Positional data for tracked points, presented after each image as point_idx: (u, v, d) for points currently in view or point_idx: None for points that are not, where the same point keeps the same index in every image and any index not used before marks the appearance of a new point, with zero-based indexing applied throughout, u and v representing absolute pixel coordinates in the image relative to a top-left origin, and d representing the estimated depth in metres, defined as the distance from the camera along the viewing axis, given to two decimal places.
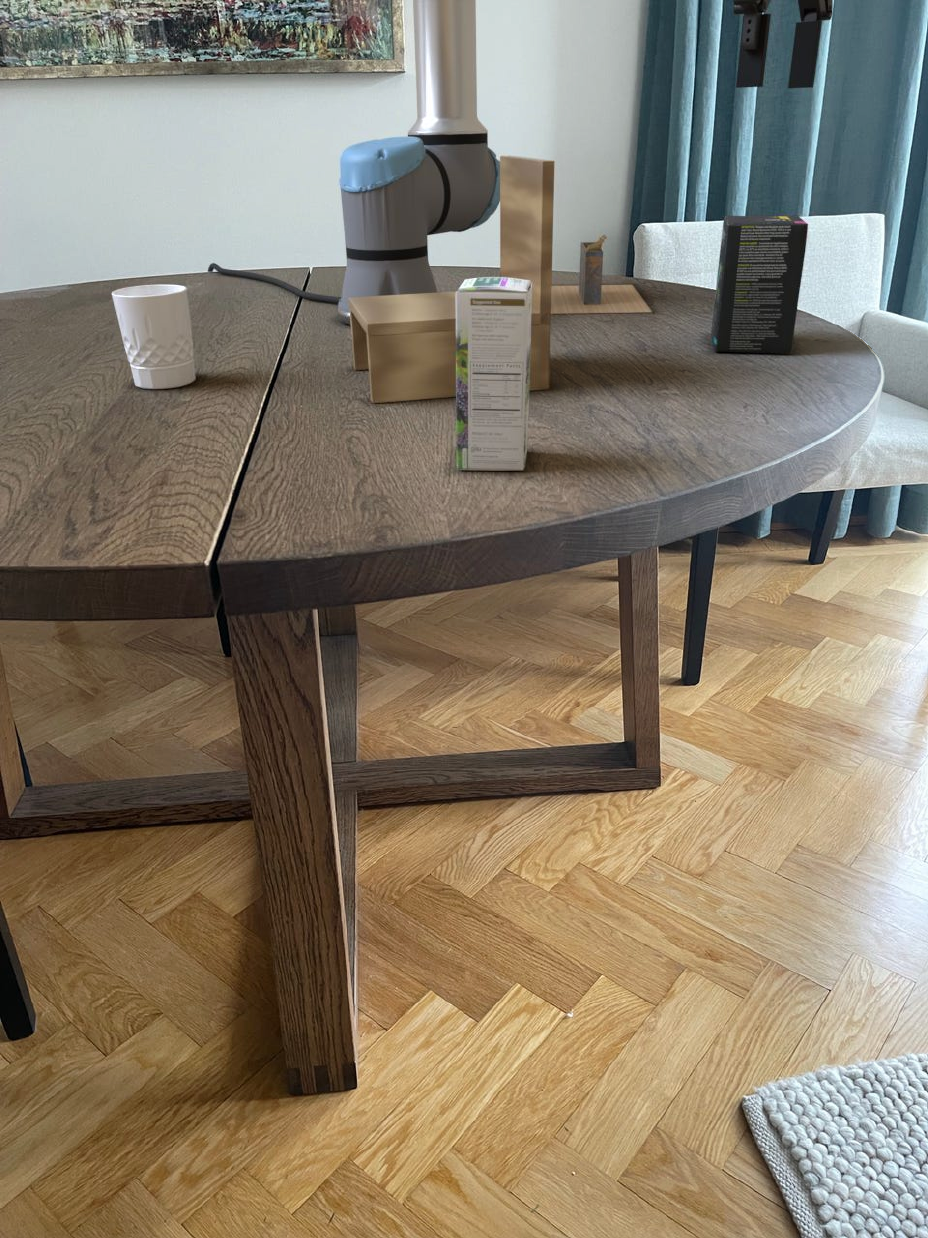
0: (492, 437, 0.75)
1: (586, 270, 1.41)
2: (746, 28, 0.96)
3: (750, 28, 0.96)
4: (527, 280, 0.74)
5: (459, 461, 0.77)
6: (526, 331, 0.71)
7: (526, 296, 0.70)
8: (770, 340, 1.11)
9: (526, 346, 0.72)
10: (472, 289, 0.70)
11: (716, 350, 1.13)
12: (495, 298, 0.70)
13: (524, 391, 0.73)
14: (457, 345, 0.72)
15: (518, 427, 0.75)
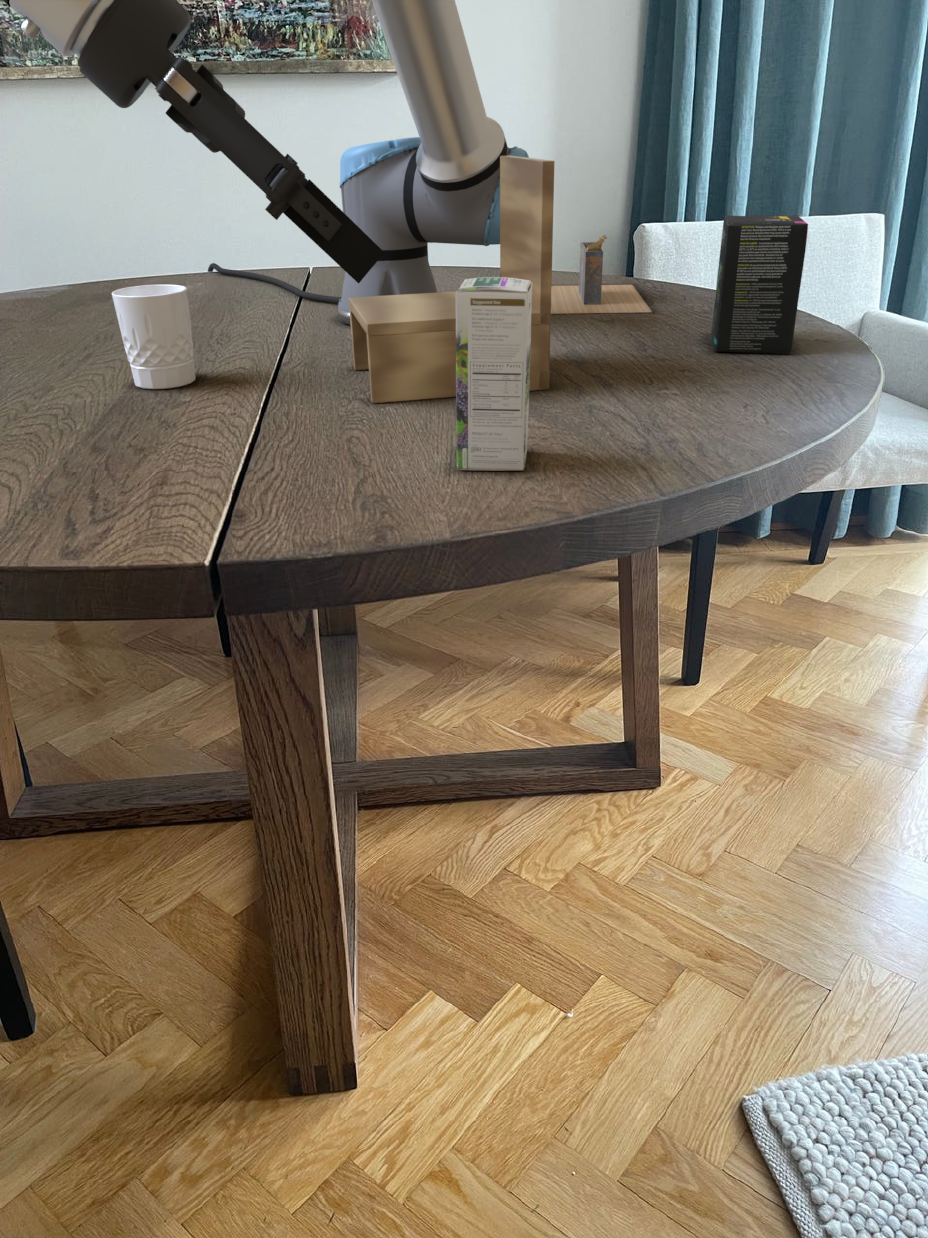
0: (492, 437, 0.75)
1: (586, 270, 1.41)
2: None
3: None
4: (527, 280, 0.74)
5: (459, 461, 0.77)
6: (526, 331, 0.71)
7: (526, 296, 0.70)
8: (770, 340, 1.11)
9: (526, 346, 0.72)
10: (472, 289, 0.70)
11: (716, 350, 1.13)
12: (495, 298, 0.70)
13: (524, 391, 0.73)
14: (457, 345, 0.72)
15: (518, 427, 0.75)
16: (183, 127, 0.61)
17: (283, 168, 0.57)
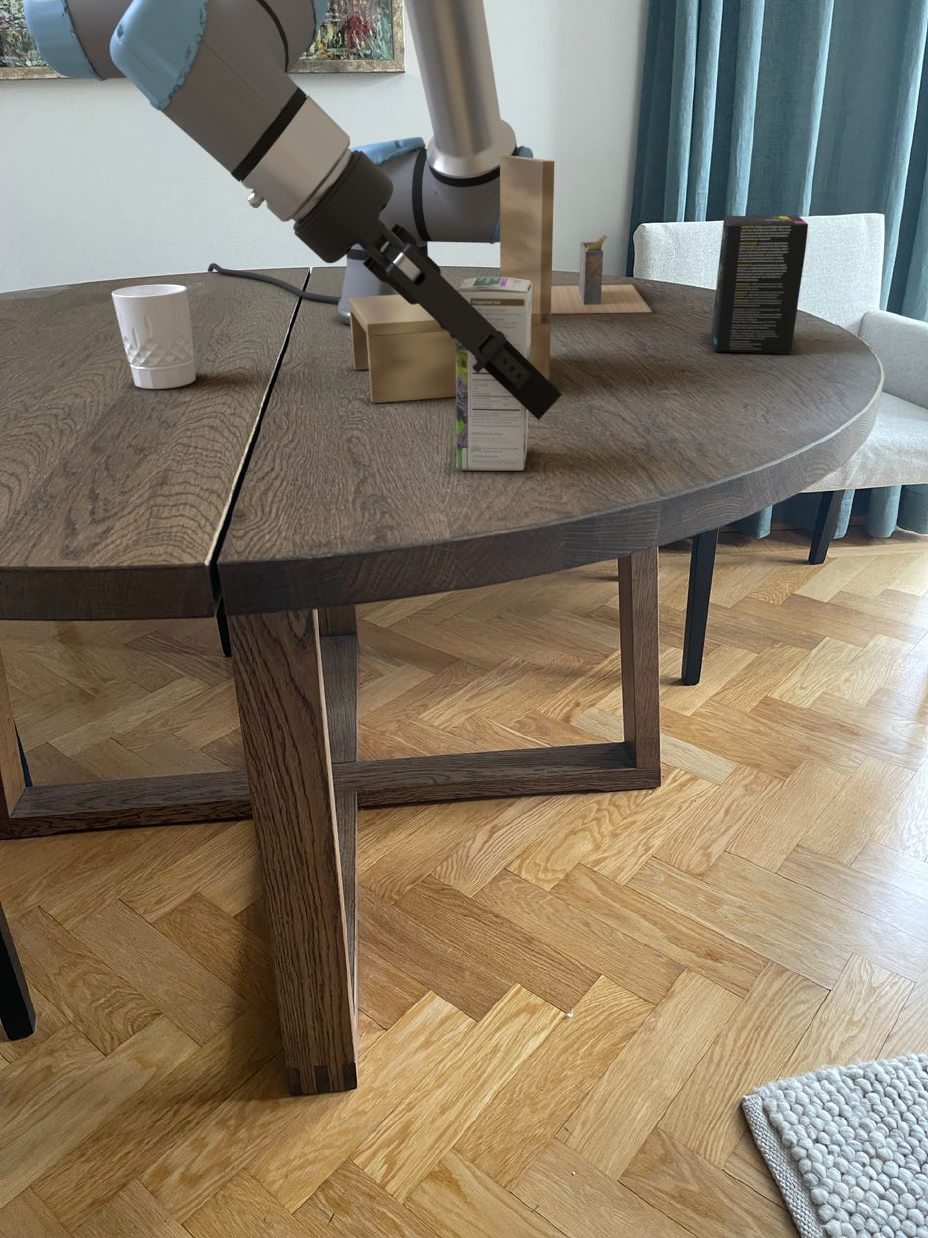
0: (492, 437, 0.75)
1: (586, 270, 1.41)
2: None
3: None
4: (527, 280, 0.74)
5: (459, 461, 0.77)
6: (526, 331, 0.71)
7: (526, 296, 0.70)
8: (770, 340, 1.11)
9: (526, 346, 0.72)
10: (472, 289, 0.70)
11: (716, 350, 1.13)
12: (495, 298, 0.70)
13: None
14: (457, 345, 0.72)
15: (518, 427, 0.75)
16: (385, 282, 0.69)
17: (492, 337, 0.67)
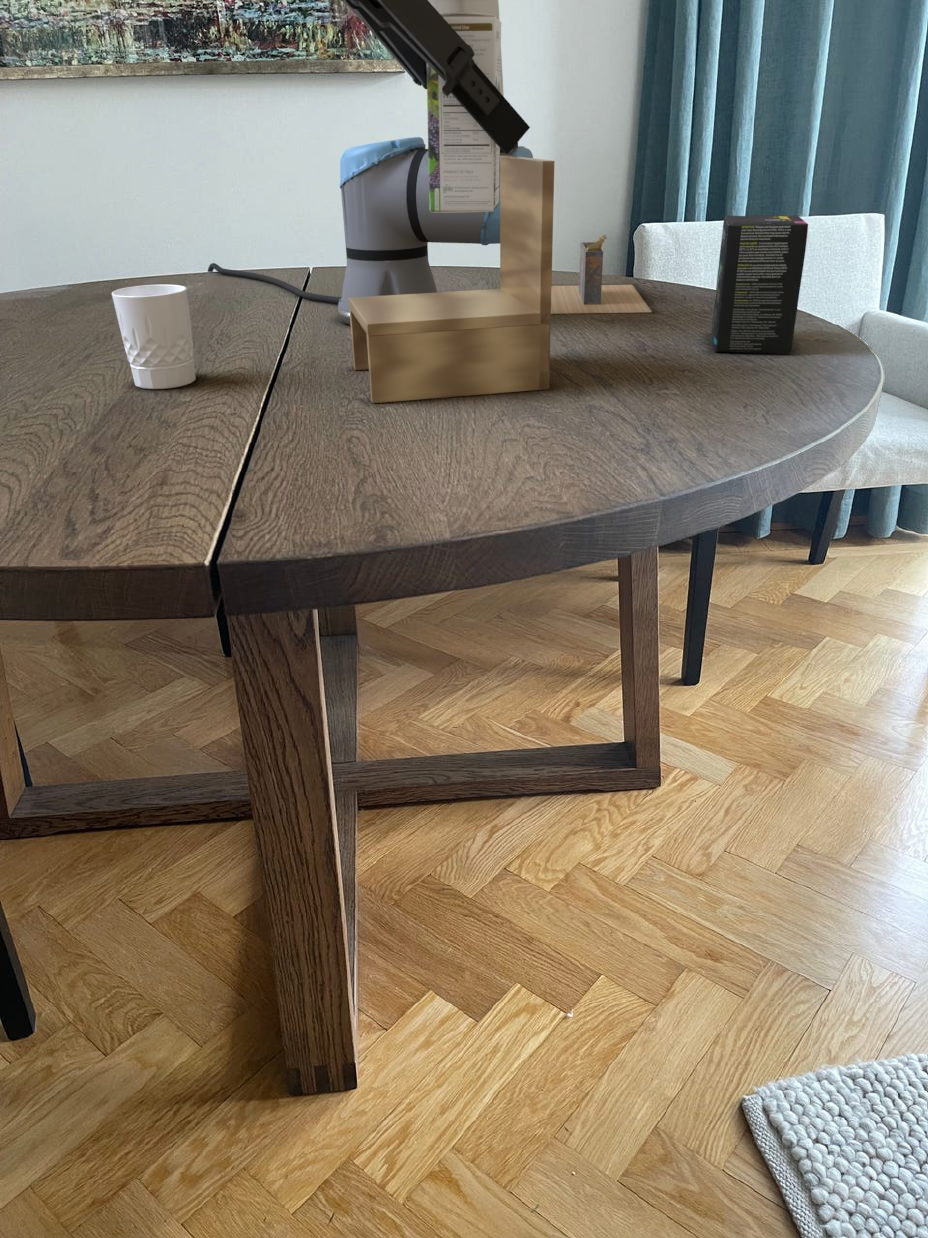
0: (463, 175, 0.78)
1: (586, 270, 1.41)
2: None
3: None
4: None
5: (432, 202, 0.79)
6: (494, 58, 0.74)
7: (493, 20, 0.73)
8: (770, 340, 1.11)
9: (494, 75, 0.74)
10: (441, 14, 0.73)
11: (716, 350, 1.13)
12: (464, 23, 0.73)
13: None
14: (428, 75, 0.75)
15: (488, 164, 0.78)
16: (357, 2, 0.71)
17: (460, 49, 0.70)
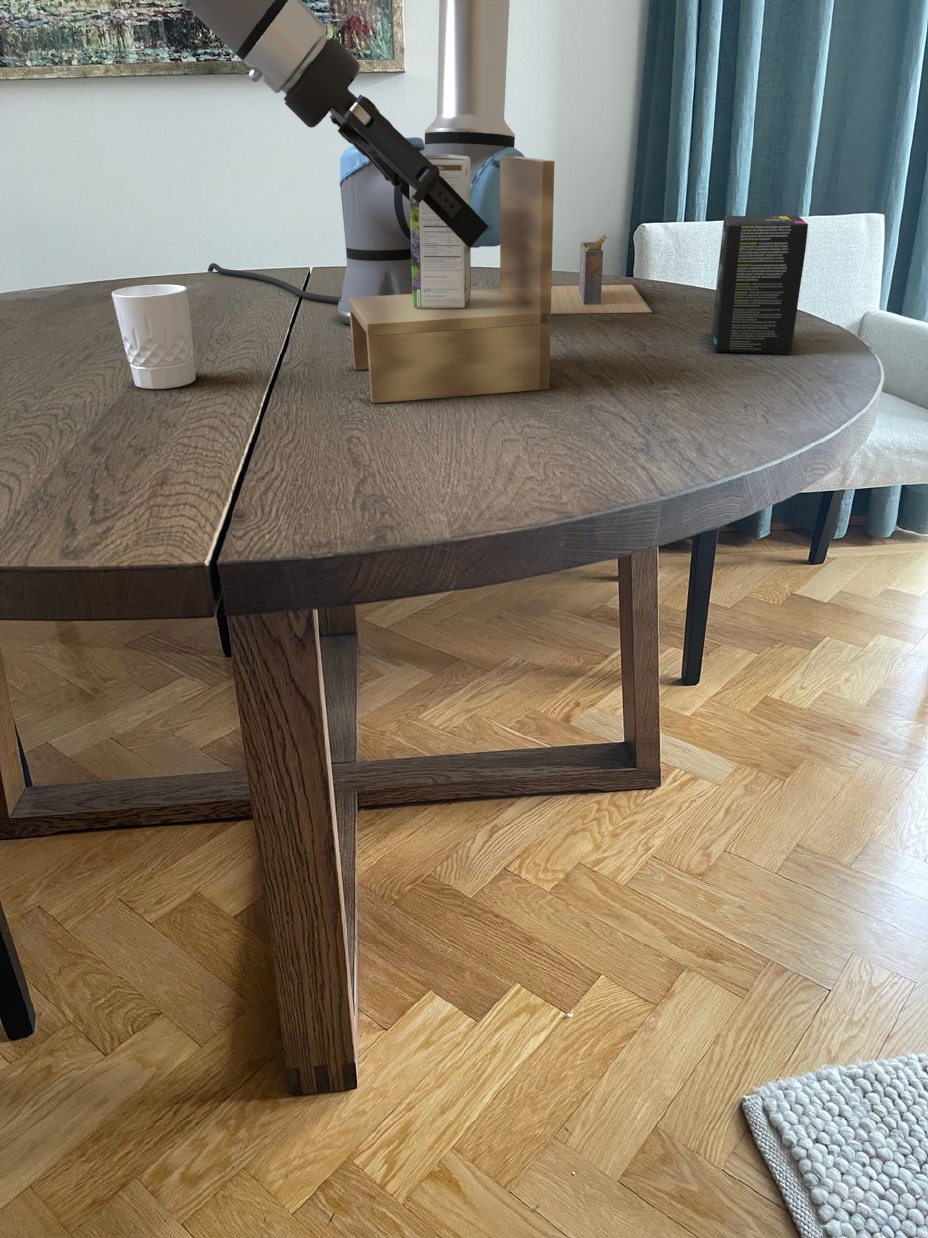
0: (439, 279, 0.97)
1: (586, 270, 1.41)
2: None
3: None
4: (466, 156, 0.96)
5: (415, 300, 0.98)
6: (463, 191, 0.93)
7: (462, 162, 0.91)
8: (770, 340, 1.11)
9: None
10: None
11: (716, 350, 1.13)
12: (439, 164, 0.92)
13: None
14: (411, 203, 0.94)
15: (460, 271, 0.96)
16: (352, 140, 0.90)
17: (428, 168, 0.85)
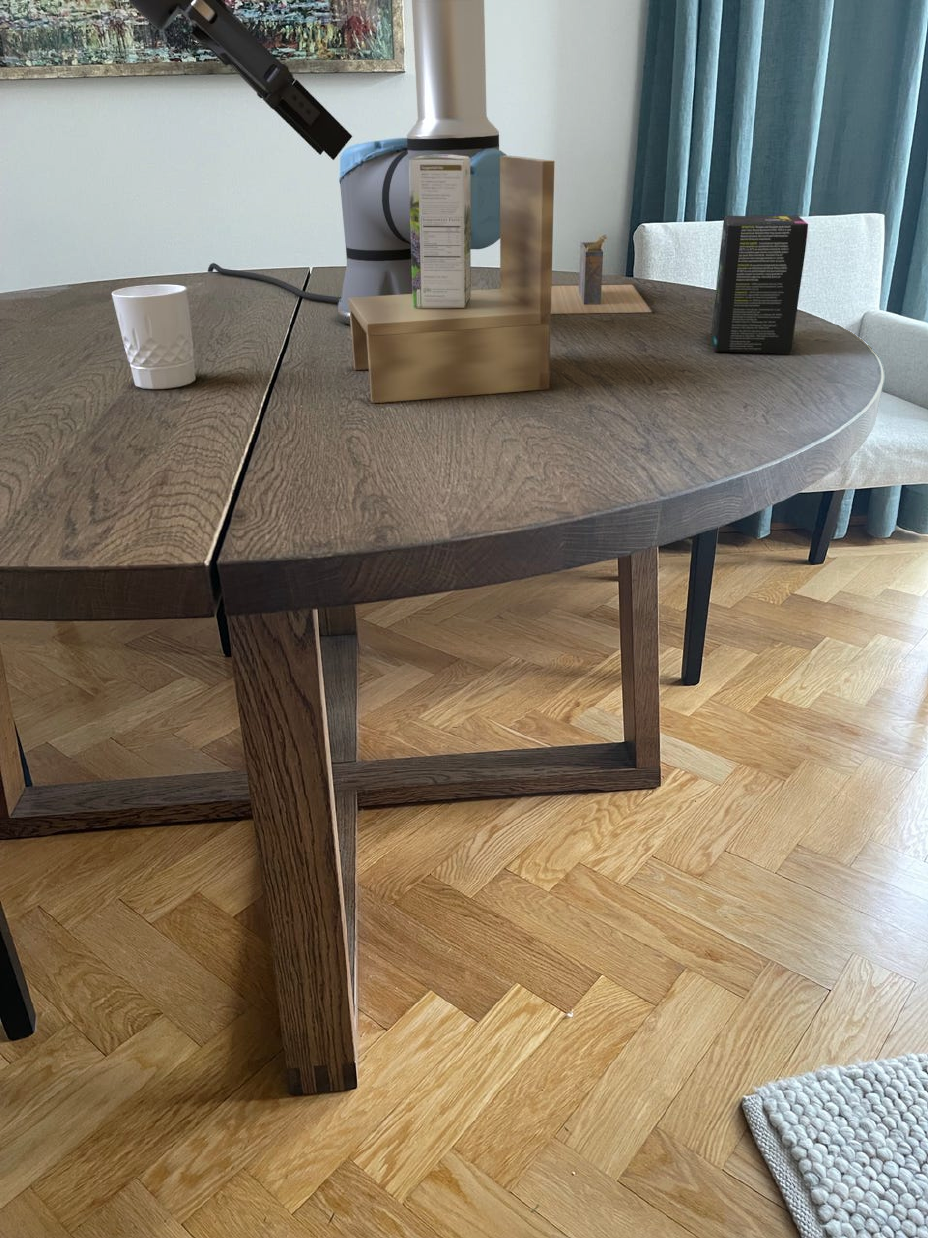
0: (439, 279, 0.97)
1: (586, 270, 1.41)
2: None
3: None
4: (466, 156, 0.96)
5: (415, 300, 0.98)
6: (463, 191, 0.93)
7: (462, 162, 0.91)
8: (770, 340, 1.11)
9: (464, 203, 0.93)
10: (421, 157, 0.92)
11: (716, 350, 1.13)
12: (439, 164, 0.92)
13: (463, 240, 0.95)
14: (411, 203, 0.94)
15: (460, 271, 0.96)
16: (204, 43, 0.84)
17: (276, 68, 0.79)
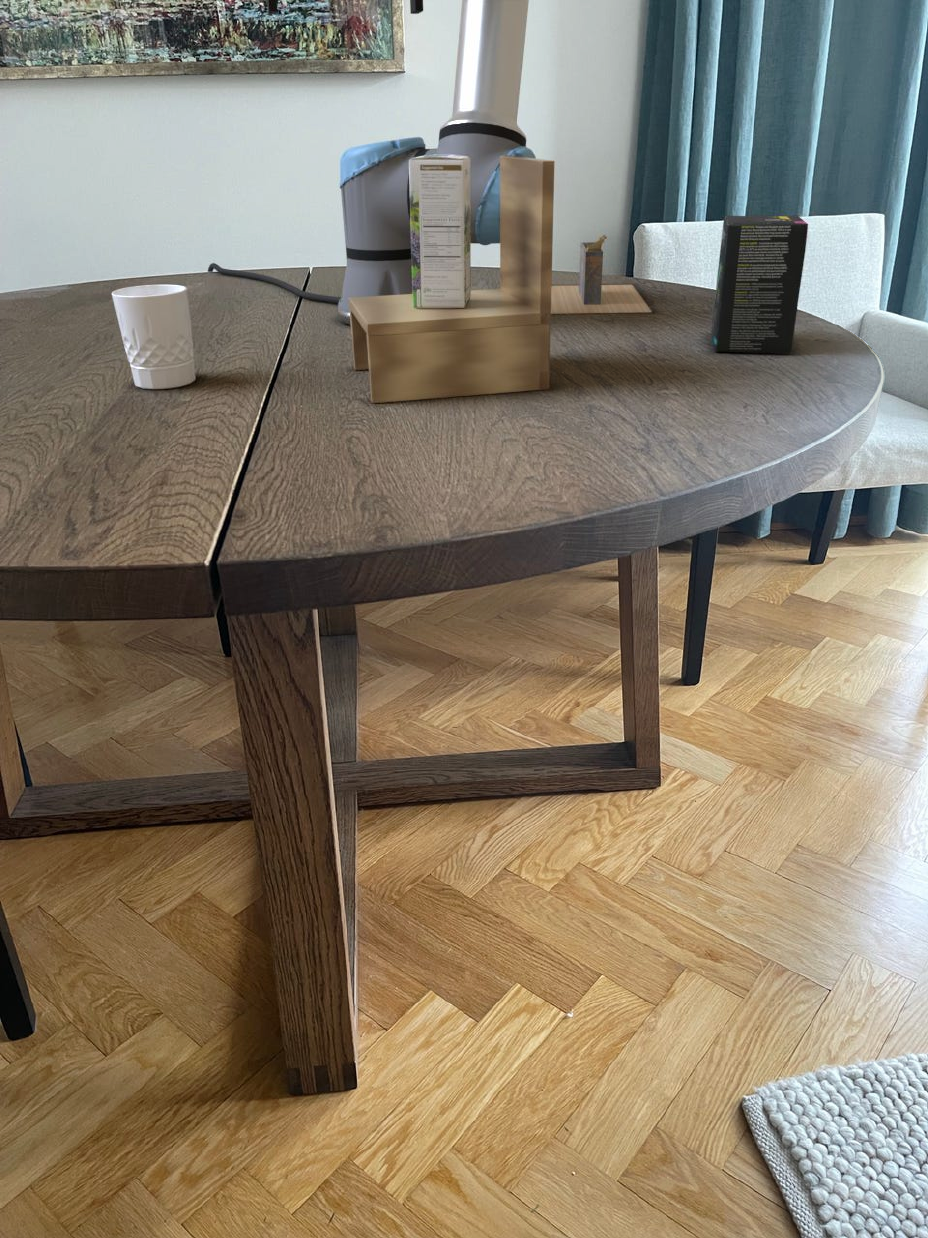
0: (439, 279, 0.97)
1: (586, 270, 1.41)
2: None
3: None
4: (466, 156, 0.96)
5: (415, 300, 0.98)
6: (463, 191, 0.93)
7: (462, 162, 0.91)
8: (770, 340, 1.11)
9: (464, 203, 0.93)
10: (421, 157, 0.92)
11: (716, 350, 1.13)
12: (439, 164, 0.92)
13: (463, 240, 0.95)
14: (411, 203, 0.94)
15: (460, 271, 0.96)
16: None
17: None
